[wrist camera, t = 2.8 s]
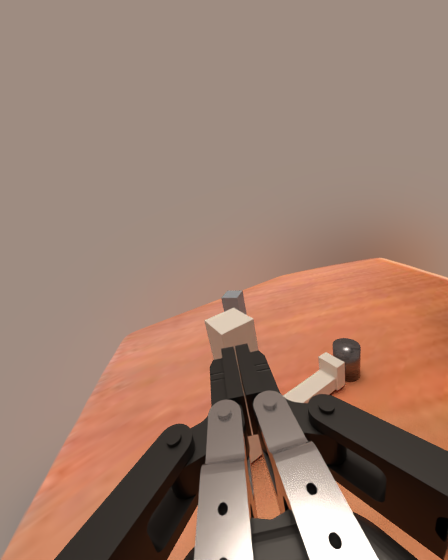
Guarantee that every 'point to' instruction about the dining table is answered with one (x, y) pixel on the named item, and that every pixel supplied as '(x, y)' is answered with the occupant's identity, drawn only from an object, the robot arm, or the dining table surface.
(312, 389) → the beige l-shaped bracket
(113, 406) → the dining table surface
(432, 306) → the dining table surface
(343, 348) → the post
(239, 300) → the post
